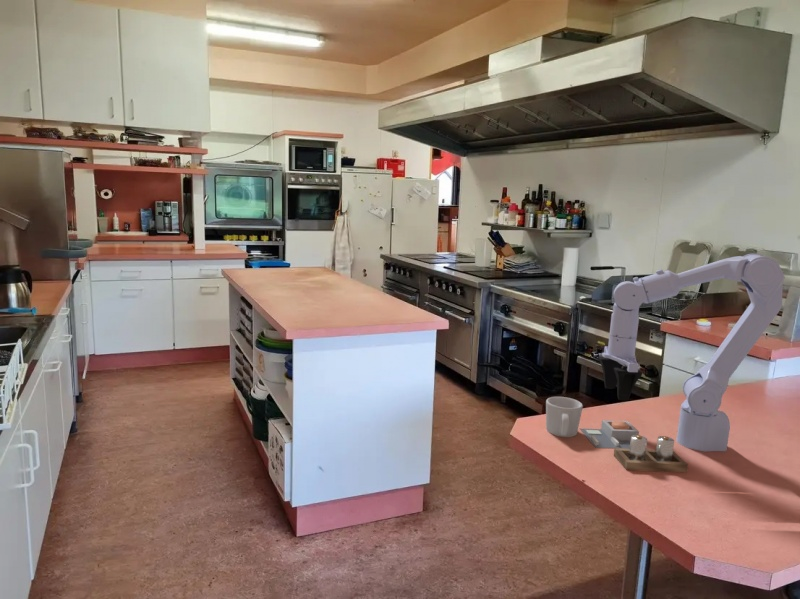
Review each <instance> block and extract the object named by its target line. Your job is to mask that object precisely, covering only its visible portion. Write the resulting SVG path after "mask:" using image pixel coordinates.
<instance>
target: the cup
mask: <svg viewBox="0 0 800 599" xmlns="http://www.w3.org/2000/svg"><path fill="white" fill-rule="evenodd" d="M583 409H584V405H583V403H582V402H580V401H579V400H577V399H574V398H571V397H566V396H565V397H564V396H551V397H548V398H547V399H546V400H545V421H546V422H545V424H546V425H545V427H546V428H545V429H546V431H547V432H548V433H549V434H551V435H554V436H556V437H557V436H558V437H562V438H572V437H575V436H577V435H578V430H579V427H580V421H581V418H582V412H583Z"/></svg>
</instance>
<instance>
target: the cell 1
mask: <svg viewBox="0 0 800 599" xmlns="http://www.w3.org/2000/svg"><path fill="white" fill-rule="evenodd" d="M647 446H648V438H647V437H646V436H644V435H643V436H642V435H640V434H639V435H632V436H631V442H630V449H629V456H628V458H629V459H630V460H641V461H644V460H645V453H646V449H647Z"/></svg>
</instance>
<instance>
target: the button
mask: <svg viewBox="0 0 800 599" xmlns="http://www.w3.org/2000/svg"><path fill="white" fill-rule="evenodd" d="M612 421H613V422H612V427H613V428H614V429H621V430H628V429H629V425H628V424H627V423H625V422H621V421H622V420H612Z"/></svg>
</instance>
